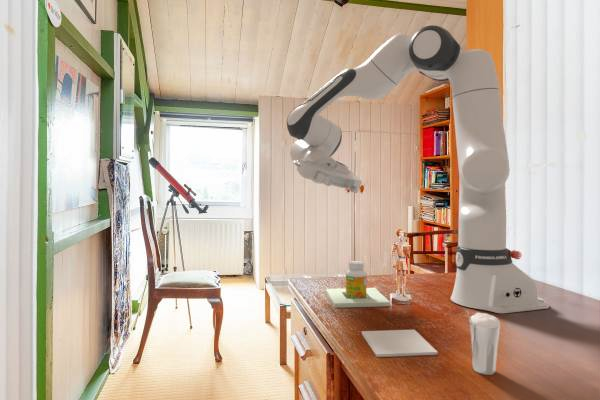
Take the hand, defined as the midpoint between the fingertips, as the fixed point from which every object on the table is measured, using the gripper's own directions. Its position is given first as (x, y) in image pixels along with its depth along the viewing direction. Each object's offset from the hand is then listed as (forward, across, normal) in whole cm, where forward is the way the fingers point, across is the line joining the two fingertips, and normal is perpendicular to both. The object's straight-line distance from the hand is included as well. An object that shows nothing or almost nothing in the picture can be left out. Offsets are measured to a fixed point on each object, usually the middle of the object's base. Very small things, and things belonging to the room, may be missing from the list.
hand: (343, 186), depth 110 cm
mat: (+43, -6, +15) cm, 46 cm away
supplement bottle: (+17, +6, +24) cm, 30 cm away
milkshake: (+57, -3, +8) cm, 57 cm away
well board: (+17, +6, +24) cm, 30 cm away
